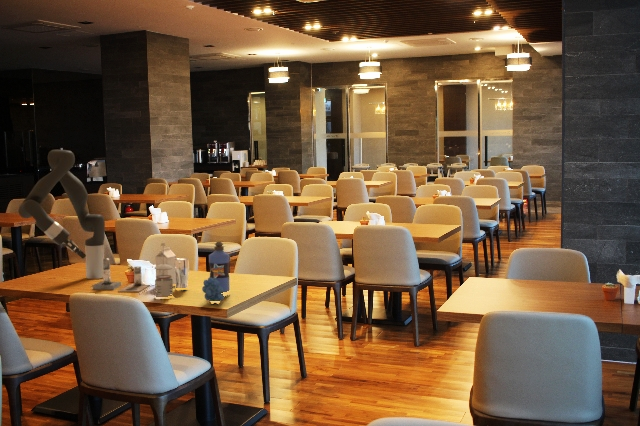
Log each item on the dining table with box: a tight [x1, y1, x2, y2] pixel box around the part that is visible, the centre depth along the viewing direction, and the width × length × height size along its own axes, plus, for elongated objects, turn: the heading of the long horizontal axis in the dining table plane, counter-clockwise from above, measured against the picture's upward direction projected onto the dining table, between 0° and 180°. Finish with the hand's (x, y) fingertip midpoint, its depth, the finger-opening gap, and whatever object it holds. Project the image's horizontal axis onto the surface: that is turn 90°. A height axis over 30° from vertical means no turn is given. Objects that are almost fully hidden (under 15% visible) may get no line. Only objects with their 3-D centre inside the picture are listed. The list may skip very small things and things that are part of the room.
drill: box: [102, 257, 112, 285], centre depth 340 cm, size 3×3×14 cm
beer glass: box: [174, 257, 190, 289], centre depth 340 cm, size 7×7×15 cm
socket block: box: [92, 280, 122, 291], centre depth 341 cm, size 10×10×3 cm
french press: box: [154, 242, 174, 297], centre depth 324 cm, size 10×12×25 cm
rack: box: [117, 283, 151, 294], centre depth 339 cm, size 18×10×2 cm, turn 175°
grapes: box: [201, 276, 225, 302], centre depth 307 cm, size 12×7×12 cm, turn 58°
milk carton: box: [155, 246, 177, 286], centre depth 348 cm, size 7×7×19 cm
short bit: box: [133, 266, 143, 286], centre depth 343 cm, size 3×3×9 cm
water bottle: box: [208, 241, 230, 292], centre depth 326 cm, size 9×9×25 cm
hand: (83, 255), depth 335 cm, fingers open, 8 cm apart
